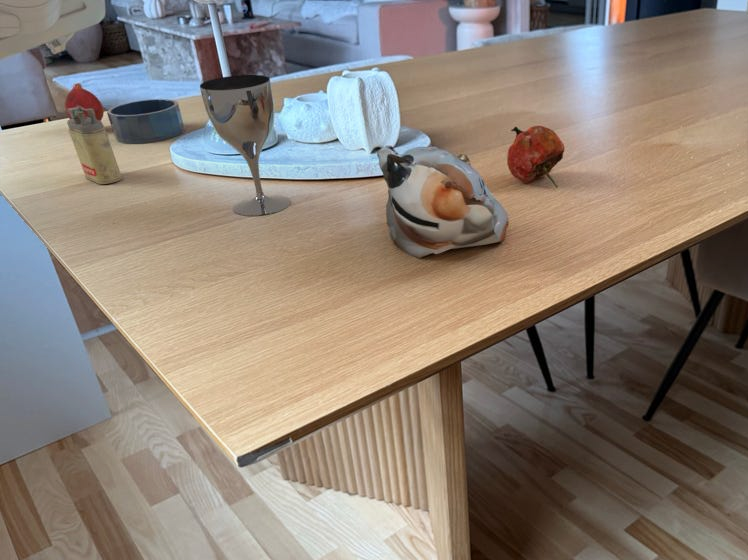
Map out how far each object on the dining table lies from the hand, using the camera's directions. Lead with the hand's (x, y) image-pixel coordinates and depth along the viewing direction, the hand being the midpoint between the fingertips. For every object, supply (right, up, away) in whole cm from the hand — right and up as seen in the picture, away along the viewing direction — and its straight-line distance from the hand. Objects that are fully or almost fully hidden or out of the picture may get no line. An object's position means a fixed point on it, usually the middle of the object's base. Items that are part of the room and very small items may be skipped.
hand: (18, 61), depth 83 cm
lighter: (+1, -9, +18) cm, 21 cm away
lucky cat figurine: (+52, -23, -6) cm, 57 cm away
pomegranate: (+63, -12, +10) cm, 64 cm away
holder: (-2, +3, +37) cm, 37 cm away
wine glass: (+27, -16, +7) cm, 32 cm away
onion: (-14, +5, +41) cm, 43 cm away
